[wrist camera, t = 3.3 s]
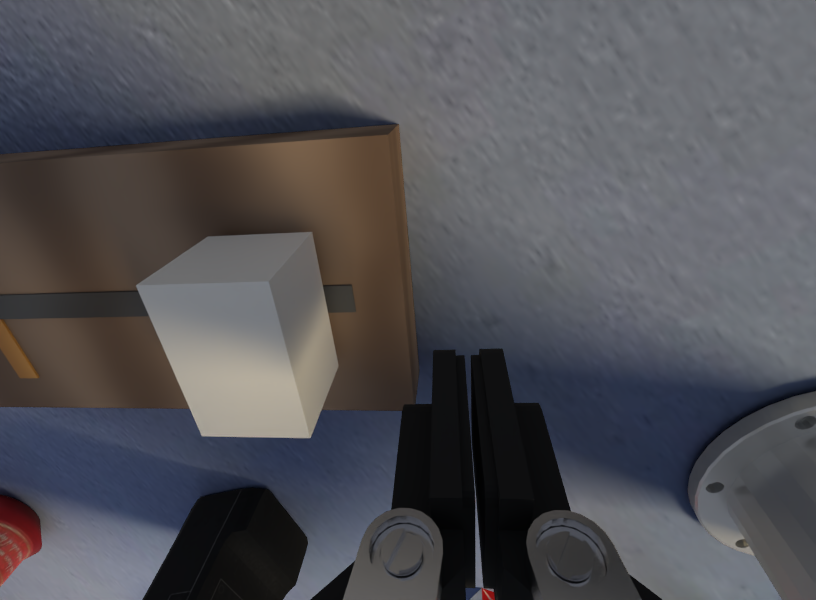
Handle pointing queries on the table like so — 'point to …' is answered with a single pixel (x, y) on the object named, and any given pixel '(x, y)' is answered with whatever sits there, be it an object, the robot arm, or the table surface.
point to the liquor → (17, 535)
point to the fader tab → (246, 333)
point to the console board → (181, 230)
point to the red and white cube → (483, 595)
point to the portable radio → (232, 551)
